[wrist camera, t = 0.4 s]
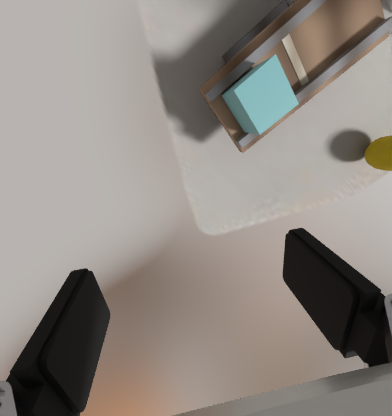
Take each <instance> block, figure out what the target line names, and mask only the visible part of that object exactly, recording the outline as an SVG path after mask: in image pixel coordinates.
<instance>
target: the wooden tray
mask: <svg viewBox="0 0 392 416" xmlns="http://www.w3.org/2000/svg"><path fill="white" fill-rule="evenodd" d="M391 28H392V16H391V17H389V18H387V19H385V17H384V13H383V9H382V4H381V0H296V1H295V2H294V3H293V4H292V5H291V6H290V7H289V5H288V3H287V0H284V1H283V2H281V3H280V4H279V5H278V6H277V7H276V8H275V9H274V10H273V11H272V12H270V13H269V14H268V15H267V16H266V17H265V18H264V19H263V20H262V21H261V22H259V23H258V24H257V25H256V26H255V27H254V28H253V29H252V30H251V31H250V32H248V33H247V34H246V35H245V36H244V37H243V38H242V39H241V40H240V41H239V42H237V43H236V44H235V45H234V46H233V47H232V48H231V49H230V50H229V51H228V52H226V53H225V54H224V55H223V58H224V60H225V62H226V64H225V65H224V66H223V67H222V68H221V69H219V70H218V71H217V72H216V73H215V74H214V75H213V76H212V77H211V78H209V79H208V80H207V81H206V82H205V83H204V84H203V85H202V86H201V87H199V88H198V89H199V91H200V92H201V94H202V95H203V97H204V98H205V100H206V101H207V103H208V104H209V106H210V107H211V109H212V110H213V112H214V113H215V115H216V116H217V118H218V119H219V121H220V122H221V124H222V125H223V127H224V128H225V130H226V131H227V133H228V134H229V136H230V137H231V139H232V140H233V142H234V143H235V145H236V146H237V148H238V149H239V151H240V152H243V153H244V152H245V151H246V150H247V149H249V148H250V147H251V146H252V145H254V144H255V143H256V142H257V141H259V140H260V139H261V138H262V137H264V136H265V135H266V134H267V133H269V132H270V131H271V130H272V129H274V128H275V127H276V126H277V125H279V124H280V123H281V122H282V121H284V120H285V119H286V118H287V117H289V116H290V115H291V114H292V113H294V112H295V111H296V110H297V109H299V108H300V107H301V106H302V105H304V104H305V103H306V102H307V101H309V100H310V99H311V98H312V97H314V96H315V95H316V94H317V93H319V92H320V91H321V90H322V89H324V88H325V87H326V86H327V85H329V84H330V83H331V82H332V81H334V80H335V79H336V78H337V77H339V76H340V75H341V74H342V73H344V72H345V71H346V70H347V69H349V68H350V67H351V66H352V65H354V64H355V63H356V62H357V61H359V60H360V59H361V58H362V57H364V56H365V55H366V54H367V53H369V52H370V51H371V50H372V49H374V48H375V47H376V46H377V45H379V44H380V43H381V42H382V41H384V40H385V39H386V38H387V37H389V35H388V31H389V30H390V29H391ZM275 54H276V55H277V58H278V60H279V62H280V64H281V66H282V68H283V71H284V73H285V75H286V77H287V79H288V81H289V84H290V86H291V88H292V90H293V92H294V94H295V97H296V99H297V101H298V103H299V104H298V105H297V106H296V107H294V108H293V109H292V110H291V111H289V112H288V113H287V114H286V115H284V116H283V117H282V118H281V119H279V120H278V121H277V122H276V123H274V124H273V125H272V126H271V127H269V128H268V129H267V130H266V131H264V132H263V133H262V134H261V135H257V134H252V133H246V132H244V131H243V129H242V128H241V126H240V125H239V123H238V121H237V120H236V118H235V117H234V115H233V113H232V112H231V110H230V108H229V107H228V105H227V104H226V102H225V100H224V99H223V97H222V96H221V95H222V94H223V93H225V92H226V91H227V90H228V89H229V88H230V87H231V86H233V85H234V84H235V83H236V82H237V81H238V80H240V79H241V78H242V77H243V76H244V75H245V74H246V73H248V72H249V71H250V70H251V69H252V68H253V67H254V66H256V65H258V64H259V63H261V62H263V61H265V60H266V59H268V58H270V57H271V56H273V55H275Z"/></svg>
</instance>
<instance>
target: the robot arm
mask: <svg viewBox="0 0 392 416" xmlns="http://www.w3.org/2000/svg"><path fill="white" fill-rule="evenodd" d="M381 4H382V9H383V13H384V17H385V19H387V18H389V17H391V16H392V0H381ZM388 33H392V28H391V29H390V30H389V31H388ZM283 278H284V281H285V283H286V284H287V286H288V287H289V288H290V290H291V291H292V292H293V294H294V295H295V297H296V298H297V299H298V301H299V302H300V303H301V305H302V306H303V307H304V309H305V310H306V311H307V313H308V314H309V315H310V317H311V318H312V320H313V321H314V322H315V324H316V325H317V326H318V328H319V329H320V331H321V332H322V333H323V335H324V336H325V337H326V339H327V340H328V341H329V343H330V344H331V345H332V347H333V348H334V349H336V350H339V351H340V352H341V354H342V355H343V356H344V358H349V357H353V356H357V355H358V356H359V357H360V358H361V359H362V360H363V362H364V369H359V370H355V371H351V372H347V373H342V374H337V375H333V376H329V377H326V378H321V379H317V380H313V381H309V382H305V383H301V384H297V385H293V386H289V387H285V388H281V389H277V390H272V391H269V392H264V393H261V394H257V395H253V396H248V397H245V398H240V399H237V400H233V401H229V402H225V403H221V404H217V405H213V406H209V407H205V408H201V409H197V410H193V411H190V412H185V413H181V414H177V415H174V416H392V294H389V295H387V296H386V297H385V296H384V295H383V294H382V293H380V292H381V289H379V288H378V287H377V286H375V285H374V284H373V283H372V282H370V281H369V280H368V279H367V278H365V277H364V276H363V275H362V274H360V273H359V272H358V271H357V270H355V269H354V268H353V267H352V266H350V265H349V264H348V263H347V262H345V261H344V260H342V259H341V258H340V257H339V256H338V255H336V254H335V253H334V252H333V251H331V250H330V249H329V248H327V247H326V246H325V245H324V244H322V243H321V242H320V241H318V240H317V239H316V238H315V237H314V236H312V235H311V234H310V233H309V232H307V231H306V230H305V229H303V228H298V229H293V230H290V231H289V232H288V234H286V239H285V252H284V264H283ZM109 320H110V311H109V308H108V306H107V304H106V302H105V299H104V297H103V295H102V292H101V290H100V288H99V286H98V283H97V281H96V279H95V276H94V274H93V272H92V271H89V270H88V269H79V270H74V271H72V272H71V273H70V274H69V276H68V278H67V279H66V281H65V282H64V284H63V286H62V287H61V289H60V291H59V292H58V294H57V296H56V297H55V299H54V301H53V302H52V304H51V305H50V307H49V309H48V310H47V312H46V314H45V315H44V317H43V319H42V320H41V322H40V323H39V325H38V327H37V328H36V330H35V332H34V333H33V335H32V337H31V338H30V340H29V341H28V343H27V345H26V346H25V348H24V350H23V351H22V353H21V355H20V356H19V358H18V359H17V361H16V363H15V364H14V366H13V368H12V369H11V371H10V375H9V377H8V378H7V380H6V381H0V416H79V415H80V412H83V411H84V409H85V407H86V404H87V400H88V397H89V393H90V389H91V386H92V382H93V378H94V375H95V371H96V367H97V364H98V360H99V357H100V353H101V349H102V345H103V342H104V338H105V335H106V331H107V327H108V324H109Z"/></svg>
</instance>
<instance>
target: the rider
mask: <svg viewBox="0 0 392 416" xmlns="http://www.w3.org/2000/svg"><path fill="white" fill-rule="evenodd" d="M221 96H222V97H223V99H224V100H225V102H226V104H227V105H228V107H229V108H230V110H231V112H232V113H233V115H234V117H235V118H236V120H237V121H238V123H239V125H240V126H241V128H242V129H243V131H244V132H246V133H252V134H257V135H261V134H262V133H263V132H264V131H266V130H267V129H268V128H269V127H271V126H272V125H273V124H274V123H276V122H277V121H278V120H279V119H281V118H282V117H283V116H284V115H286V114H287V113H288V112H289V111H291V110H292V109H293V108H294V107H296V106H297V105H298V104H299V103H298V101H297V99H296V97H295V94H294V92H293V90H292V88H291V86H290V84H289V81H288V79H287V77H286V75H285V73H284V71H283V68H282V66H281V64H280V62H279V60H278V58H277V55H276V54H275V55H273V56H271V57H270V58H268V59H266V60H265V61H263V62H261V63H259V64H258V65H256V66H254V67H253V68H252V69H251V70H250V71H249V72H248V73H246V74H245V75H244V76H243V77H242V78H241V79H240V80H238V81H237V82H236V83H235V84H234V85H233V86H231V87H230V88H229V89H228V90H227V91H226V92H225V93H223V94H222V95H221Z"/></svg>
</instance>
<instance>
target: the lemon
mask: <svg viewBox="0 0 392 416" xmlns="http://www.w3.org/2000/svg"><path fill="white" fill-rule="evenodd" d="M365 159H366V161H367V163H368V164H369V165H371V166H372V167H374V168H377V169H380V170H387V171H392V136H386V137H381V138H379V139H377V140H375V141H373V142H372V143H371V144H370V145H369V146H368V147H367V149H366V151H365Z"/></svg>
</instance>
